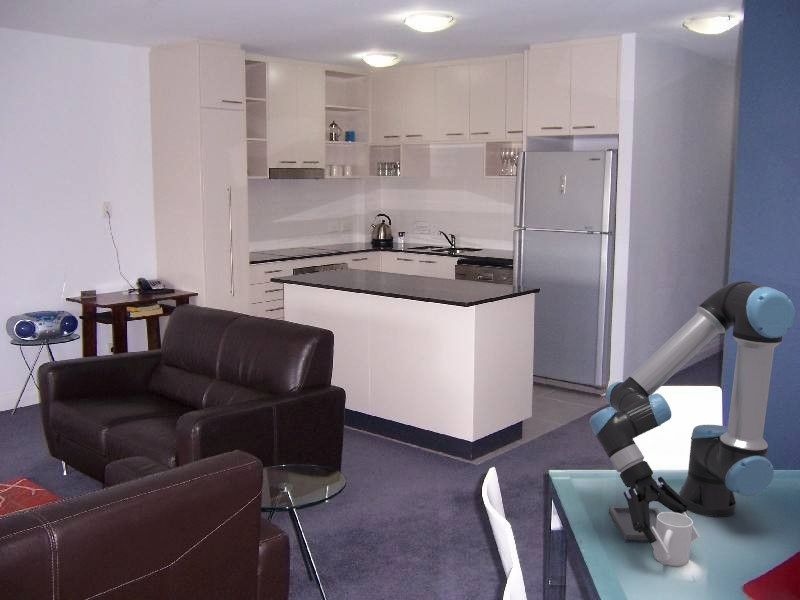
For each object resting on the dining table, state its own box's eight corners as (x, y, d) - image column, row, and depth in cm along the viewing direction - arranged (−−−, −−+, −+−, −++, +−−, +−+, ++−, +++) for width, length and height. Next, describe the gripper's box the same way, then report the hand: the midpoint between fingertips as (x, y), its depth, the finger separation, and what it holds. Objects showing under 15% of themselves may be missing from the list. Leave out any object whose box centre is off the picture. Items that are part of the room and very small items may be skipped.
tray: (656, 514, 222) (656, 507, 221) (676, 544, 205) (677, 536, 205) (608, 513, 222) (609, 506, 221) (625, 542, 205) (625, 534, 205)
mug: (679, 577, 189) (684, 535, 187) (644, 566, 193) (648, 526, 191) (692, 557, 199) (696, 517, 197) (658, 547, 203) (662, 508, 201)
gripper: (650, 463, 212) (697, 538, 204) (591, 484, 197) (638, 567, 188) (670, 449, 207) (719, 526, 199) (611, 470, 192) (661, 555, 183)
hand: (680, 546), depth 193 cm, fingers open, 13 cm apart
